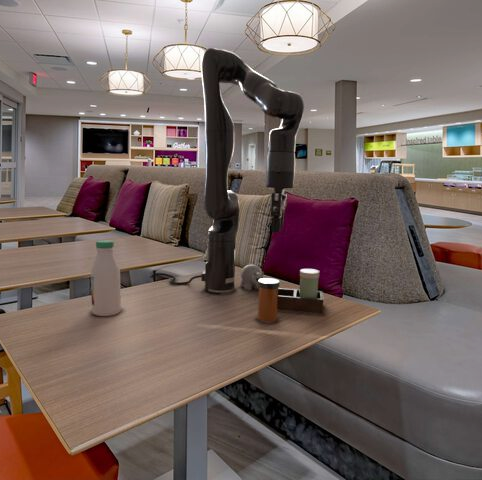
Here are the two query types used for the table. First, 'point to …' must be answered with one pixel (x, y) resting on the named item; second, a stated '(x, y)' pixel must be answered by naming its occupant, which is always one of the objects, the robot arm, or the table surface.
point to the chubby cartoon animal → (251, 277)
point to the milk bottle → (105, 281)
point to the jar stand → (299, 301)
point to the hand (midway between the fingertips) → (277, 230)
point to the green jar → (309, 283)
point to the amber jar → (268, 299)
